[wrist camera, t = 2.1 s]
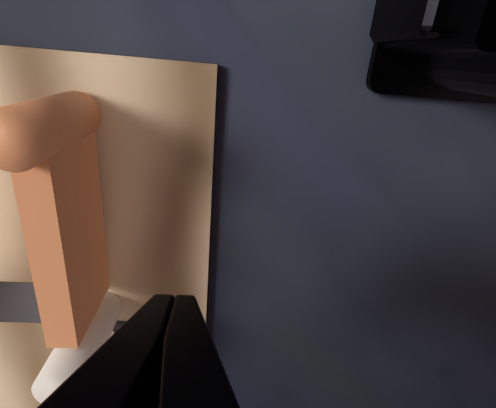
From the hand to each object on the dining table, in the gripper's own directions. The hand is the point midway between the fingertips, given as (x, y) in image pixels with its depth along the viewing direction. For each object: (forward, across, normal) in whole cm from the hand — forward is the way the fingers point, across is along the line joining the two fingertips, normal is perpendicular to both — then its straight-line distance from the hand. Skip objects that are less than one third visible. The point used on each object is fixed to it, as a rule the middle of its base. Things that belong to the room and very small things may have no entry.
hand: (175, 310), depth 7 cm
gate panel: (+9, +5, +1) cm, 10 cm away
